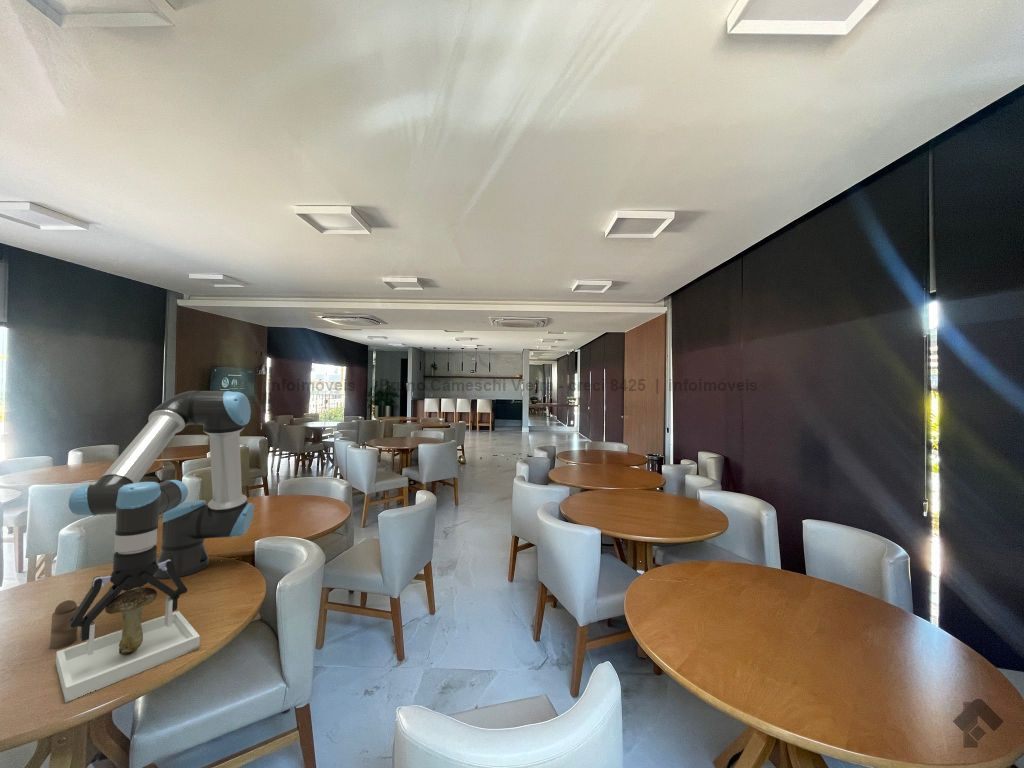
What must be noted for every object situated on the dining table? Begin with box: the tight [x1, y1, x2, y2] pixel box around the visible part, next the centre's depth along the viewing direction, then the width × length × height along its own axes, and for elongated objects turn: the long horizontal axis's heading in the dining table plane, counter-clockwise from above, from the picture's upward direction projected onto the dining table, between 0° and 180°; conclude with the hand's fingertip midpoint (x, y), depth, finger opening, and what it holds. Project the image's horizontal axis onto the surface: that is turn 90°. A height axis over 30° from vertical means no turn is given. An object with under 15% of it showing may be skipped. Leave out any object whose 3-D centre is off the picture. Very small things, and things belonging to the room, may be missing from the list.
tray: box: [55, 610, 201, 704], centre depth 93 cm, size 22×18×3 cm
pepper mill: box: [49, 599, 79, 650], centre depth 97 cm, size 4×4×10 cm
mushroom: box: [104, 586, 158, 655], centre depth 93 cm, size 9×9×15 cm
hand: (131, 638), depth 93 cm, fingers open, 13 cm apart
